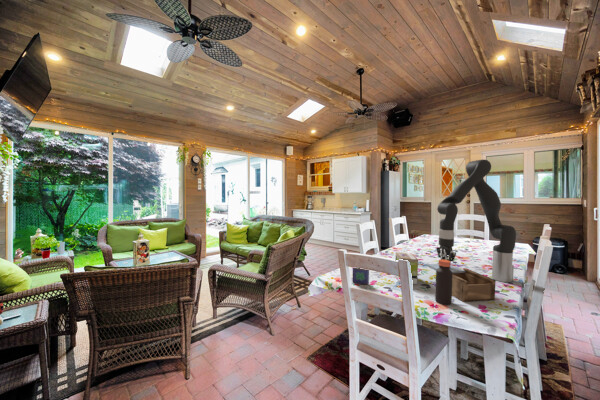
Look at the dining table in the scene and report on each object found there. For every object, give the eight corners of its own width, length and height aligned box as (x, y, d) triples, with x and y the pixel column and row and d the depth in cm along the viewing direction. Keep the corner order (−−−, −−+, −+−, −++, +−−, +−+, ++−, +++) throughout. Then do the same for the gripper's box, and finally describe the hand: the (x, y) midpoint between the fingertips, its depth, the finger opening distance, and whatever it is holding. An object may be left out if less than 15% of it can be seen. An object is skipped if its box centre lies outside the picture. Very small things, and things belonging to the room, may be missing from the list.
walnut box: (437, 287, 137) (438, 269, 136) (465, 286, 139) (466, 268, 138) (462, 301, 119) (463, 281, 119) (494, 300, 121) (495, 280, 121)
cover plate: (426, 265, 149) (426, 256, 149) (447, 265, 151) (447, 256, 151) (442, 273, 135) (443, 263, 135) (465, 272, 137) (465, 263, 137)
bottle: (442, 298, 123) (443, 258, 122) (454, 304, 117) (456, 262, 116) (431, 299, 121) (433, 259, 120) (444, 306, 115) (445, 263, 114)
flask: (369, 283, 141) (369, 265, 140) (368, 285, 138) (368, 266, 138) (352, 281, 144) (353, 263, 144) (351, 283, 142) (352, 264, 141)
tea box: (417, 284, 140) (418, 259, 139) (399, 283, 142) (399, 258, 141) (411, 275, 155) (412, 252, 154) (394, 274, 157) (395, 251, 156)
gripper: (461, 239, 136) (460, 270, 137) (443, 235, 150) (442, 263, 151) (449, 239, 135) (448, 271, 136) (432, 235, 149) (431, 263, 150)
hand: (445, 266), depth 143 cm, fingers closed on cover plate, 3 cm apart
